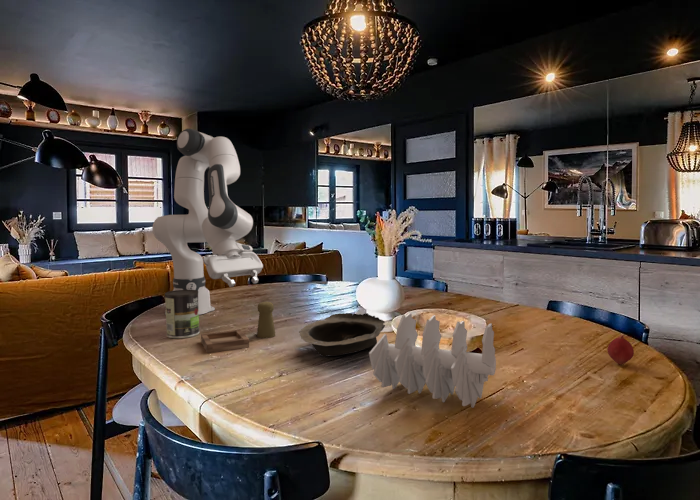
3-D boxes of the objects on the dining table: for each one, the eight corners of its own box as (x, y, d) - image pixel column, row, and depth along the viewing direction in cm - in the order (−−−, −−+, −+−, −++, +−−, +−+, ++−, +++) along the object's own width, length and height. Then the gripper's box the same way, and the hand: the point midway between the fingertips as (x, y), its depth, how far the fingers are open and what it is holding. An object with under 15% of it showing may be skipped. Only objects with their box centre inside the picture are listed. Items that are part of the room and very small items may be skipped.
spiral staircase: (393, 395, 108) (500, 414, 95) (359, 387, 94) (479, 407, 81) (404, 321, 114) (506, 329, 101) (373, 302, 99) (487, 309, 87)
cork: (277, 336, 144) (276, 303, 143) (258, 339, 141) (257, 304, 140) (273, 332, 149) (272, 299, 148) (255, 334, 147) (254, 301, 146)
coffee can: (205, 330, 151) (204, 289, 150) (188, 339, 141) (187, 295, 140) (178, 329, 153) (176, 288, 152) (159, 337, 143) (157, 294, 142)
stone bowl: (392, 341, 138) (392, 312, 136) (374, 376, 114) (374, 341, 113) (316, 334, 144) (315, 306, 143) (285, 366, 121) (284, 333, 119)
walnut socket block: (201, 342, 138) (200, 334, 138) (240, 337, 144) (240, 329, 143) (207, 353, 128) (207, 344, 127) (249, 347, 133) (248, 339, 133)
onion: (601, 362, 118) (603, 332, 118) (617, 359, 120) (619, 330, 120) (622, 369, 113) (623, 338, 112) (638, 366, 115) (639, 336, 114)
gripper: (204, 249, 148) (221, 281, 143) (255, 245, 163) (272, 274, 158) (197, 261, 152) (214, 293, 146) (248, 257, 167) (264, 286, 161)
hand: (244, 283), depth 152 cm, fingers open, 8 cm apart
